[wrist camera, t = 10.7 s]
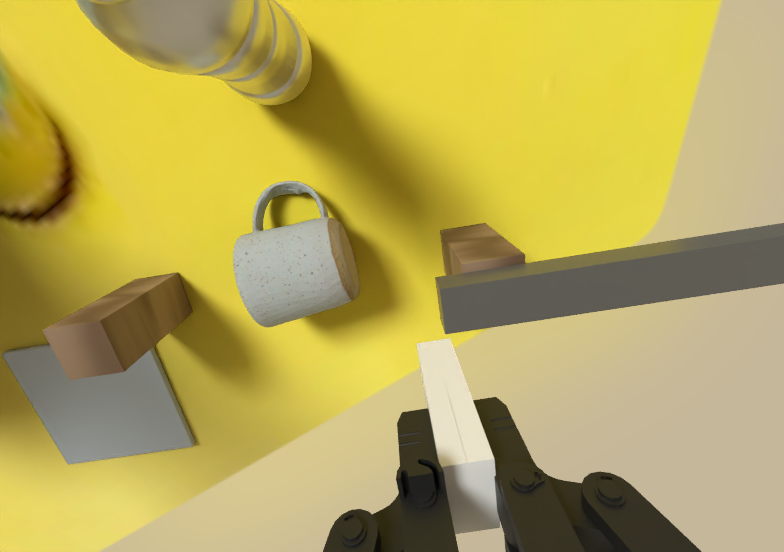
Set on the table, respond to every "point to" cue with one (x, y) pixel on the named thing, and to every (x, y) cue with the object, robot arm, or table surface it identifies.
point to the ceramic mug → (294, 264)
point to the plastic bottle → (213, 41)
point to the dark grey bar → (612, 279)
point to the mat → (102, 407)
